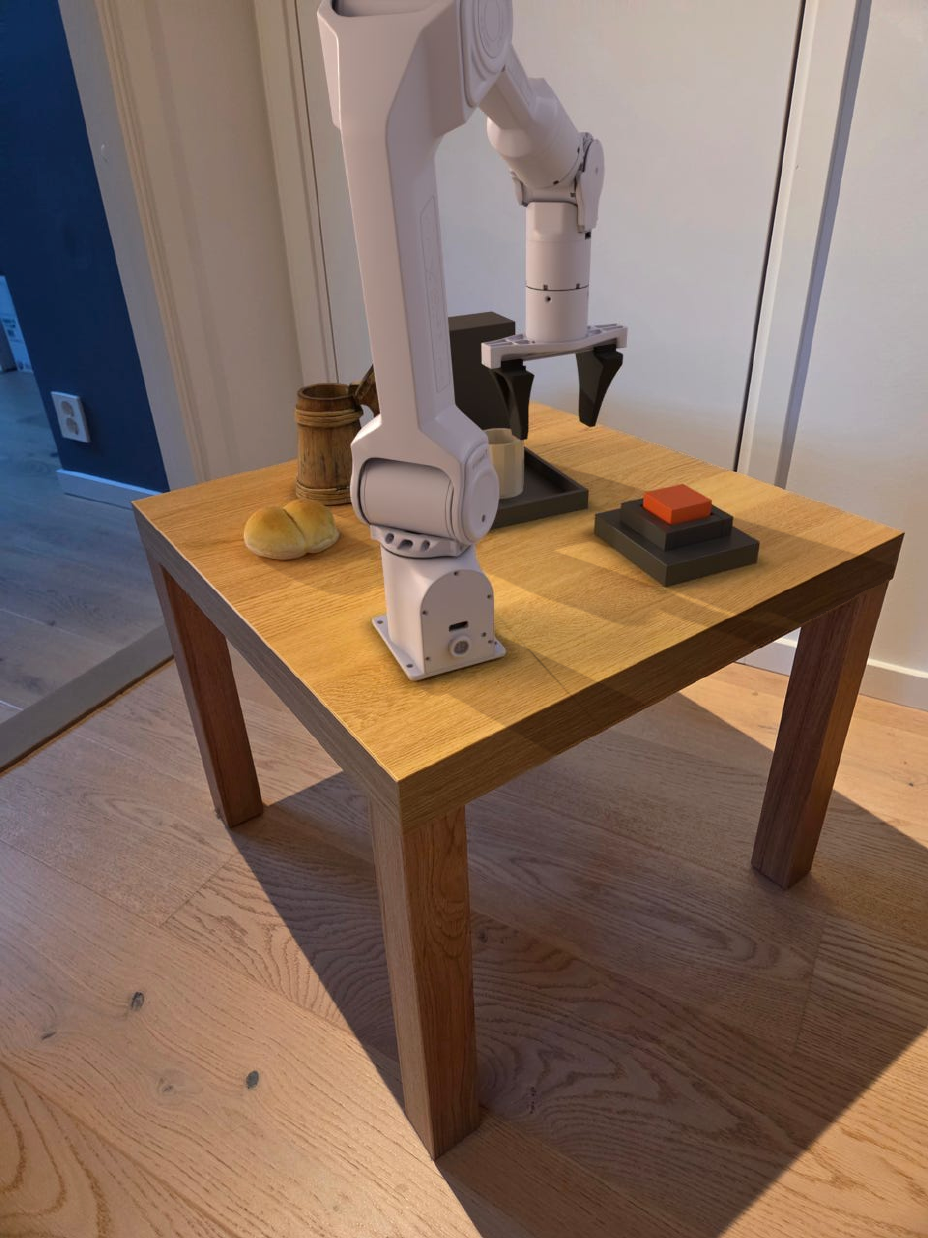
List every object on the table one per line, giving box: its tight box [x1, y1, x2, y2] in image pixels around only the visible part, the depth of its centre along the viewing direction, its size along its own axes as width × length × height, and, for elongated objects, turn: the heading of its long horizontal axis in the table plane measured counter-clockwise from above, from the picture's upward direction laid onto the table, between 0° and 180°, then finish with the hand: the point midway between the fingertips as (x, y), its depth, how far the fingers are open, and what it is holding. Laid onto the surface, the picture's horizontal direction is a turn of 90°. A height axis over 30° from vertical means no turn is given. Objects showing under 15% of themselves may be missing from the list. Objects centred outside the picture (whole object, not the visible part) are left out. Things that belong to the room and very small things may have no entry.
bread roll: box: [243, 498, 340, 561], centre depth 83 cm, size 8×9×4 cm
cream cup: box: [483, 428, 525, 499], centre depth 91 cm, size 5×5×6 cm
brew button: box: [643, 483, 713, 525], centre depth 78 cm, size 4×4×2 cm
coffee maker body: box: [448, 310, 517, 431], centre depth 97 cm, size 6×12×16 cm, turn 114°
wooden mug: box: [294, 363, 380, 506], centre depth 90 cm, size 9×14×18 cm, turn 82°
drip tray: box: [489, 445, 590, 531], centre depth 92 cm, size 15×13×2 cm
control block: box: [593, 497, 761, 588], centre depth 80 cm, size 12×10×4 cm
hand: (553, 430), depth 84 cm, fingers open, 7 cm apart
